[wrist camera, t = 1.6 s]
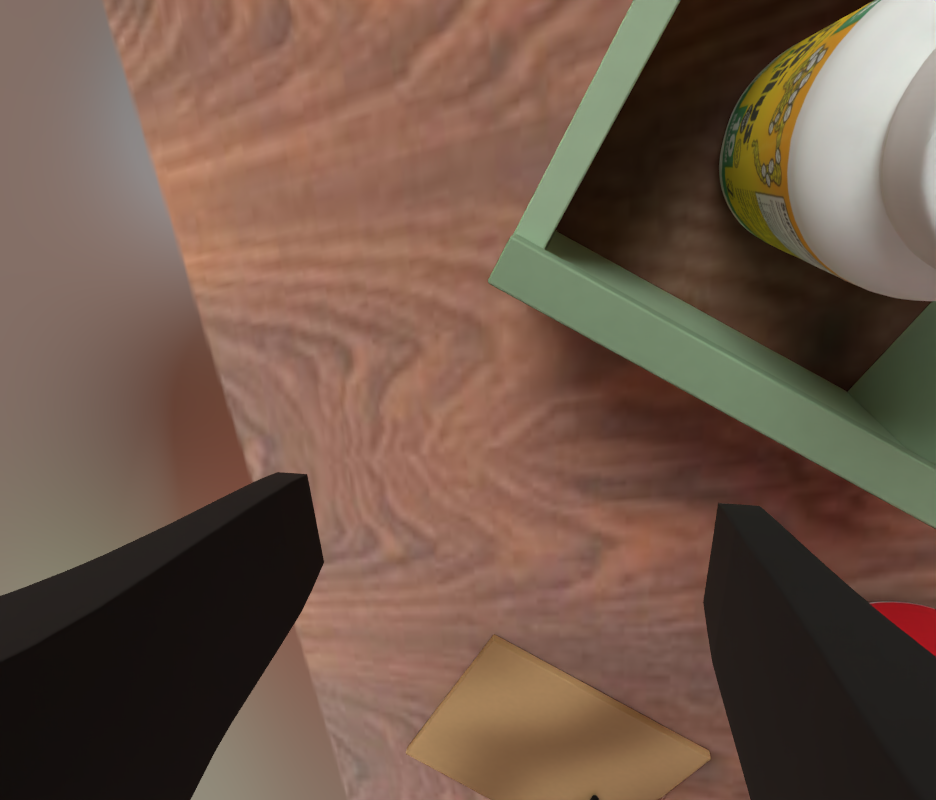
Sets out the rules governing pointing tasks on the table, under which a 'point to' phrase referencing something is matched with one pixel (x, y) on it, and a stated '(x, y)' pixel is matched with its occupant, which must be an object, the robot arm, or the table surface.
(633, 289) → the tub
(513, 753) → the cork mat
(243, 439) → the table surface
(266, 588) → the robot arm
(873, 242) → the supplement bottle
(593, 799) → the pen
